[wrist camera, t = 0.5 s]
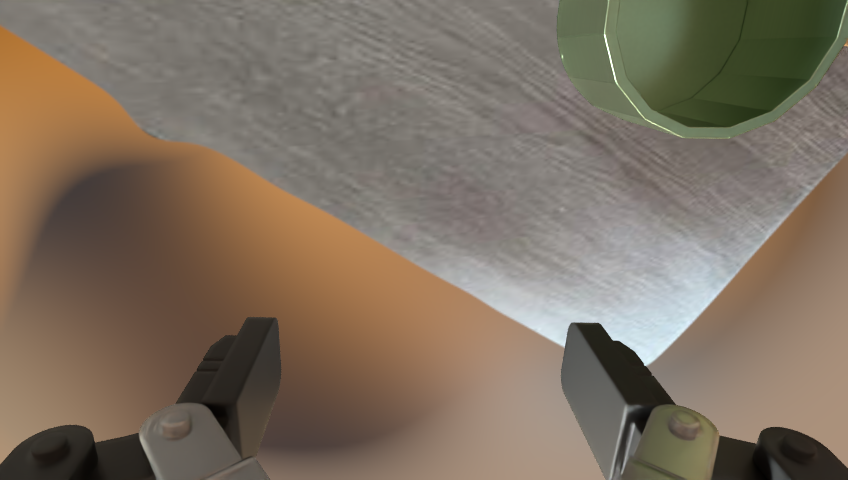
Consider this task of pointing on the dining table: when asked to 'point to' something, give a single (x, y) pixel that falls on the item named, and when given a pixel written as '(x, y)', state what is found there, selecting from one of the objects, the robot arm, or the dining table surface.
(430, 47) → the dining table surface
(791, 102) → the tin
